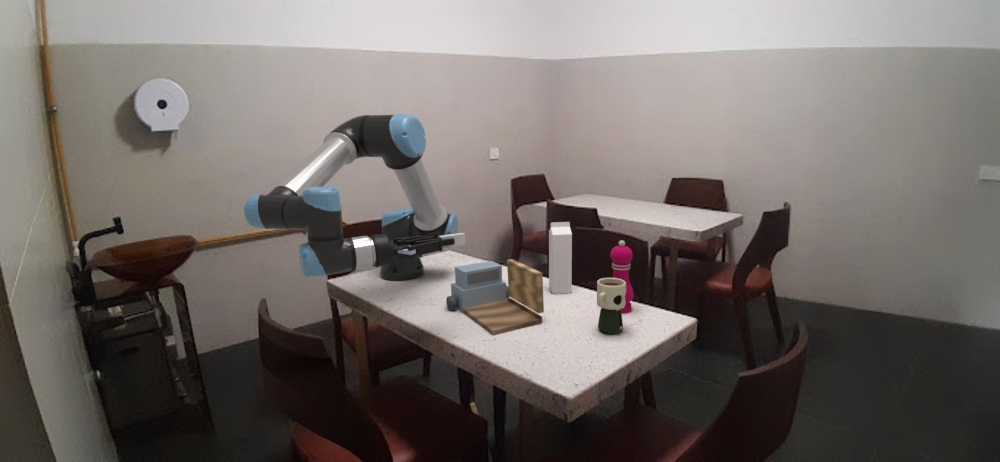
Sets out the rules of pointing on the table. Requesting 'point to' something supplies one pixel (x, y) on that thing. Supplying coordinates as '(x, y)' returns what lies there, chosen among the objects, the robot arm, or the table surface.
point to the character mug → (611, 303)
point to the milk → (560, 258)
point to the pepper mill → (623, 270)
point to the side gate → (525, 285)
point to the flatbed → (502, 316)
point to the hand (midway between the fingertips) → (463, 238)
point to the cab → (477, 285)
